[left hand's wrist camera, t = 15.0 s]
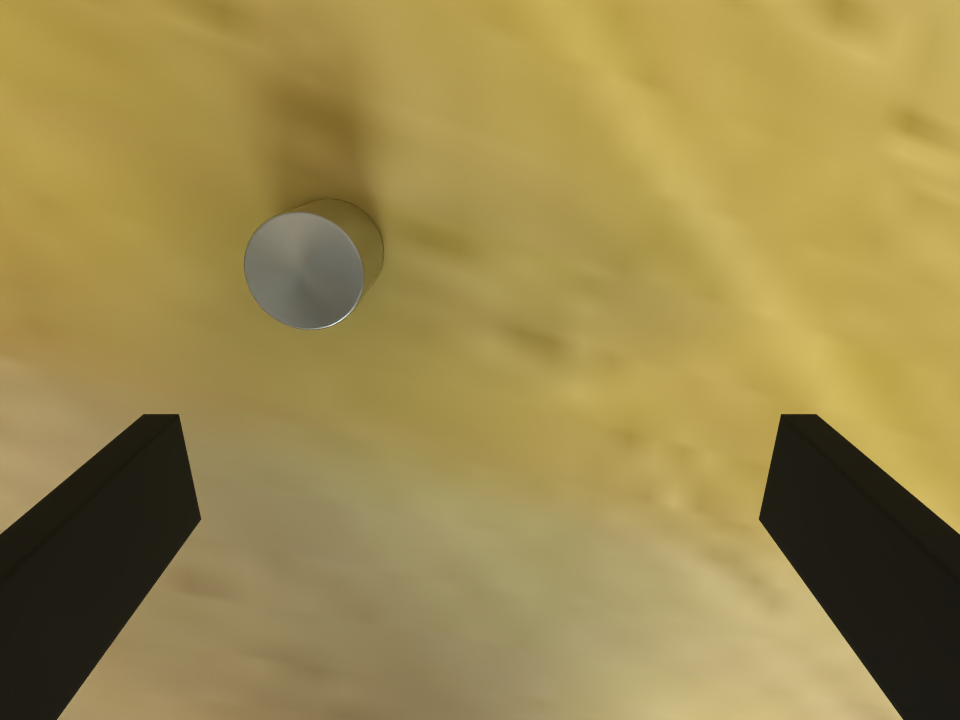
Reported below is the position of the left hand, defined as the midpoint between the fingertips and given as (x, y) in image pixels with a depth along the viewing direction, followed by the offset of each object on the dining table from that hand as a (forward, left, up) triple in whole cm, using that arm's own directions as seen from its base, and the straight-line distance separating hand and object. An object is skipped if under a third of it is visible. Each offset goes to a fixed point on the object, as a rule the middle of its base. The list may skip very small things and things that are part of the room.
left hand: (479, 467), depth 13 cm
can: (-5, +4, -11) cm, 12 cm away
